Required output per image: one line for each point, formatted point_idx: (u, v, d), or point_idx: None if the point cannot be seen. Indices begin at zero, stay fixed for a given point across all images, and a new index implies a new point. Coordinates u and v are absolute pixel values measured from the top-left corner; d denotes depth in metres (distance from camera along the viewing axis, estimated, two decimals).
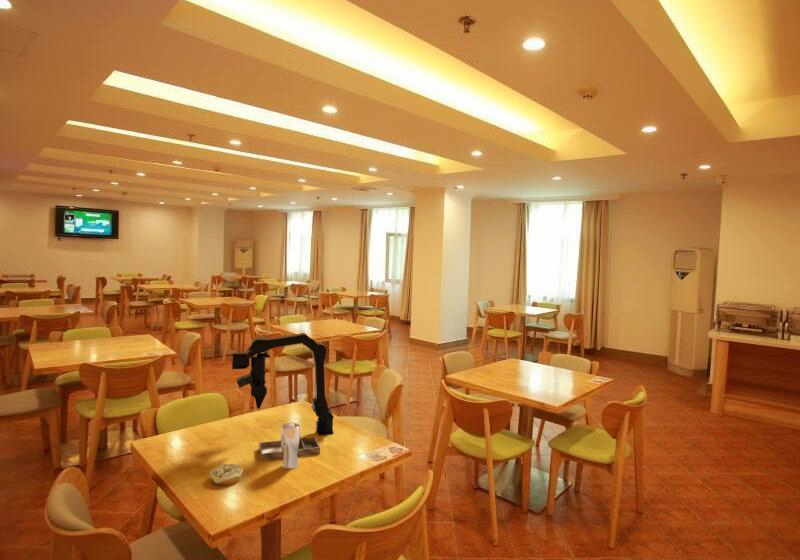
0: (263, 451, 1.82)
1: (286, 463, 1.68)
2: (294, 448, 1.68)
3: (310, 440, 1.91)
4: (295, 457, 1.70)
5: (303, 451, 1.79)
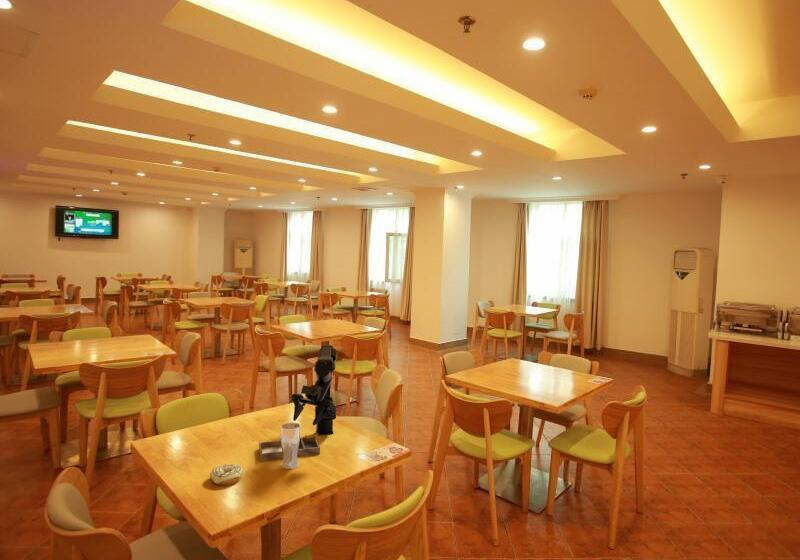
0: (263, 451, 1.82)
1: (286, 463, 1.68)
2: (294, 448, 1.68)
3: (310, 440, 1.91)
4: (295, 457, 1.70)
5: (303, 451, 1.79)
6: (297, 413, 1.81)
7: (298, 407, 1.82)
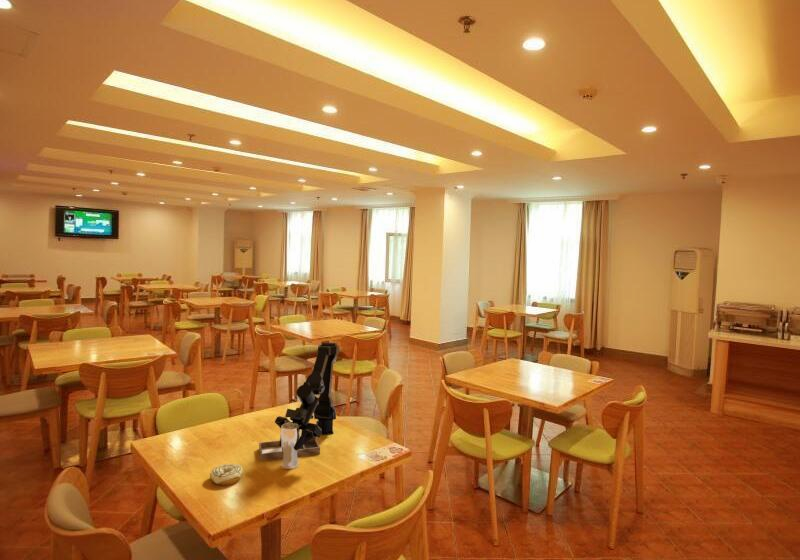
0: (263, 451, 1.82)
1: (286, 463, 1.68)
2: (294, 448, 1.68)
3: (310, 440, 1.91)
4: (295, 457, 1.70)
5: (303, 451, 1.79)
6: None
7: None
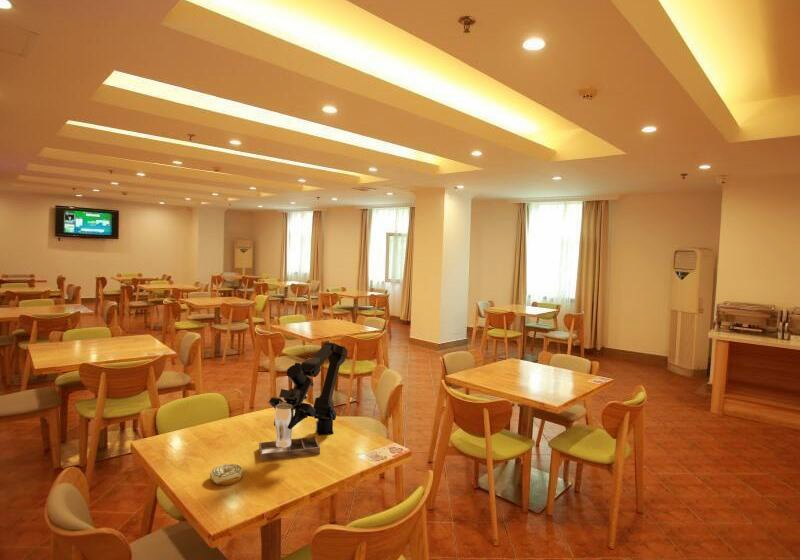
0: (263, 451, 1.82)
1: (280, 442, 1.72)
2: (288, 427, 1.72)
3: (310, 440, 1.91)
4: (289, 437, 1.74)
5: (303, 451, 1.79)
6: None
7: None
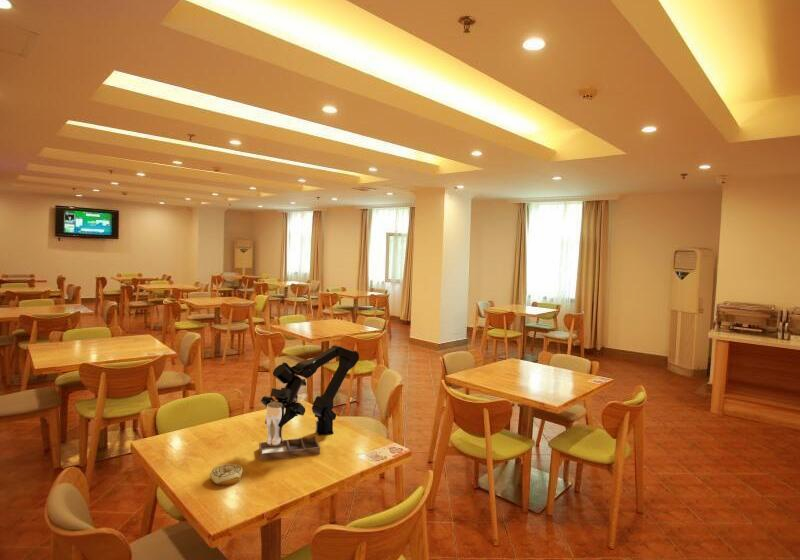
0: (263, 451, 1.82)
1: (271, 440, 1.78)
2: (278, 425, 1.78)
3: (310, 440, 1.91)
4: (279, 434, 1.80)
5: (303, 451, 1.79)
6: None
7: None
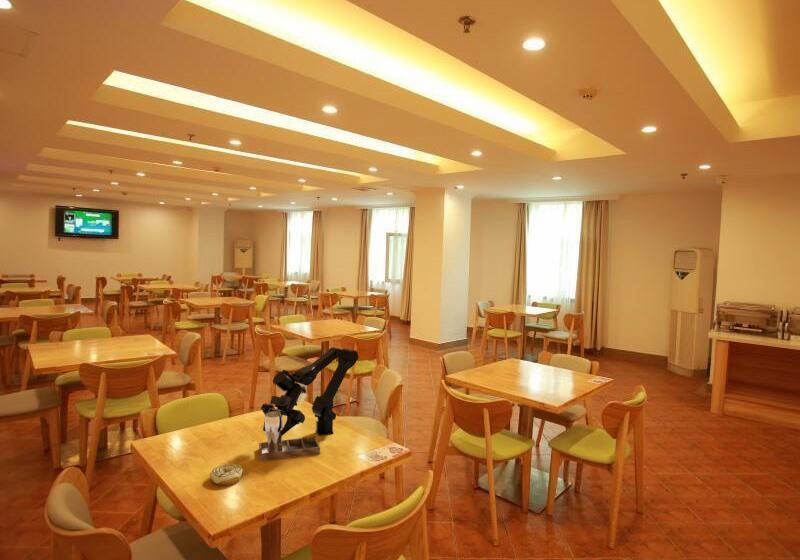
0: (263, 451, 1.82)
1: (271, 449, 1.79)
2: (278, 434, 1.79)
3: (310, 440, 1.91)
4: (279, 443, 1.80)
5: (303, 451, 1.79)
6: None
7: None
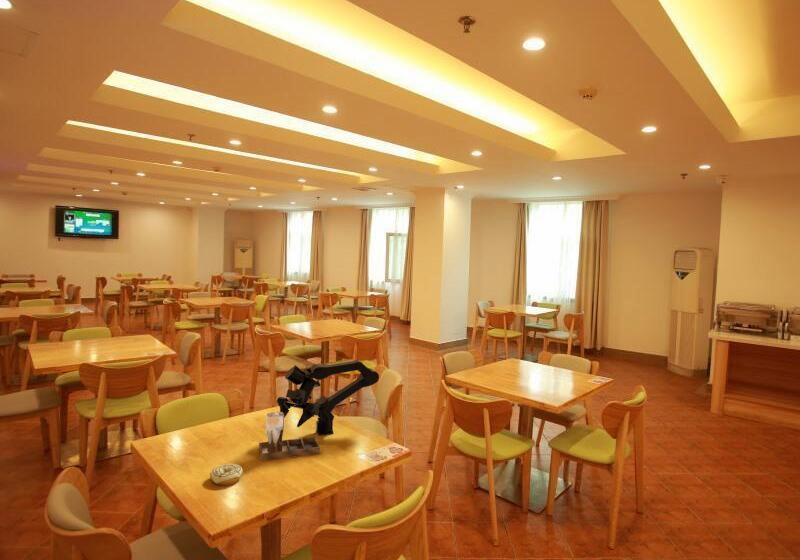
0: (263, 451, 1.82)
1: (271, 449, 1.79)
2: (278, 435, 1.79)
3: (310, 440, 1.91)
4: (279, 444, 1.80)
5: (303, 451, 1.79)
6: None
7: (283, 410, 1.92)
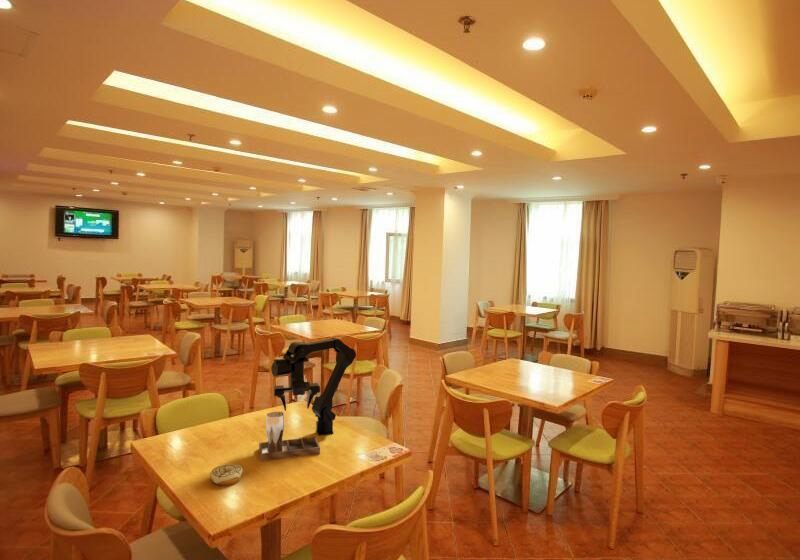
0: (263, 451, 1.82)
1: (271, 449, 1.79)
2: (278, 435, 1.79)
3: (310, 440, 1.91)
4: (279, 444, 1.80)
5: (303, 451, 1.79)
6: (285, 403, 1.92)
7: None
